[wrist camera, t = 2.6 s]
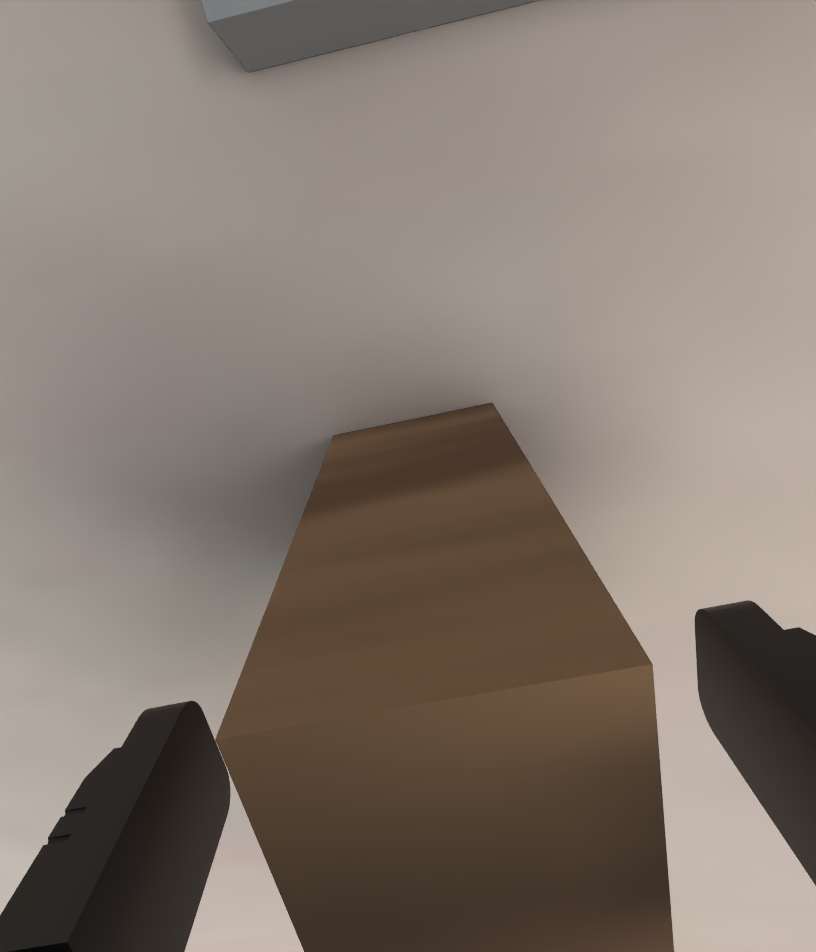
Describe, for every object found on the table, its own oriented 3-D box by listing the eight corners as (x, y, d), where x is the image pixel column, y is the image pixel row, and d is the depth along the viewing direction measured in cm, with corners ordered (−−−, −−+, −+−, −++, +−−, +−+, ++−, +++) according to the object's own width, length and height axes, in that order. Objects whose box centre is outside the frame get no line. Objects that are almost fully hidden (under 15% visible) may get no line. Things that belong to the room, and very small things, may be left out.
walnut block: (333, 435, 16) (215, 739, 6) (492, 402, 16) (652, 663, 6) (370, 573, 18) (325, 1002, 8) (515, 546, 18) (673, 953, 7)
